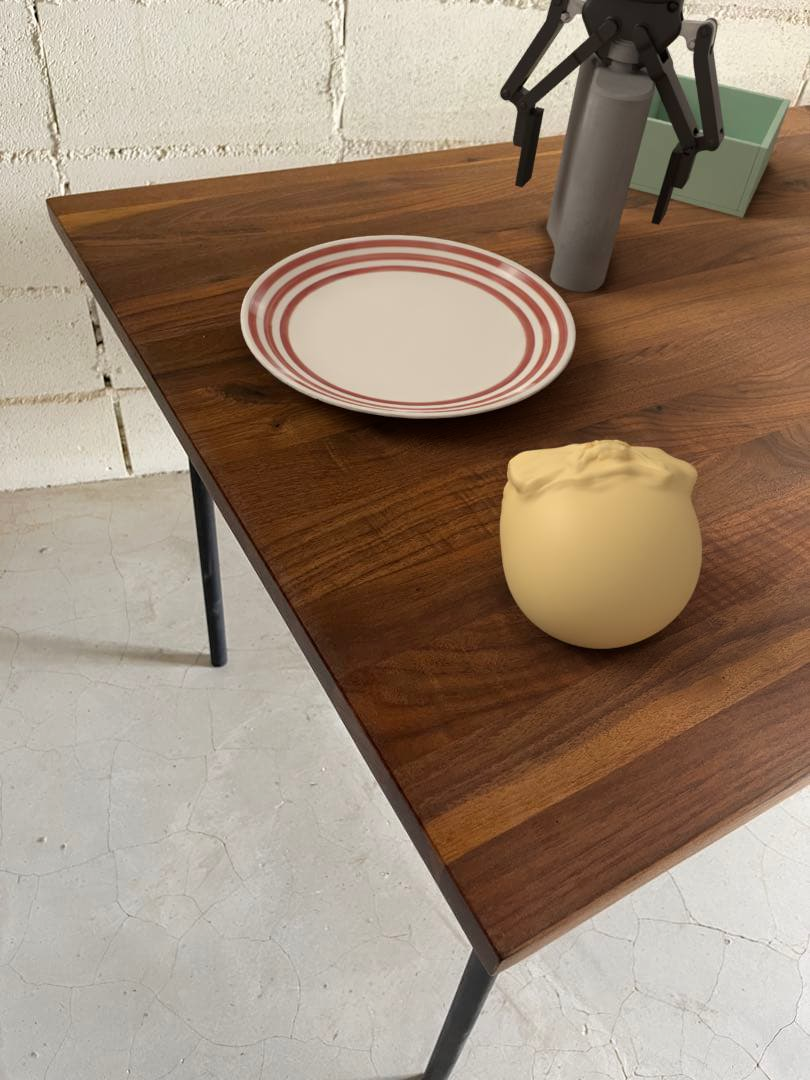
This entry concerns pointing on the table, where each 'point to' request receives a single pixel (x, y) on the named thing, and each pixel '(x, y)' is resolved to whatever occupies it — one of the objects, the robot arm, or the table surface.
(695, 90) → the basin
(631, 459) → the sculpture
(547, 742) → the table surface
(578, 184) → the flask
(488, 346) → the dinner plate
